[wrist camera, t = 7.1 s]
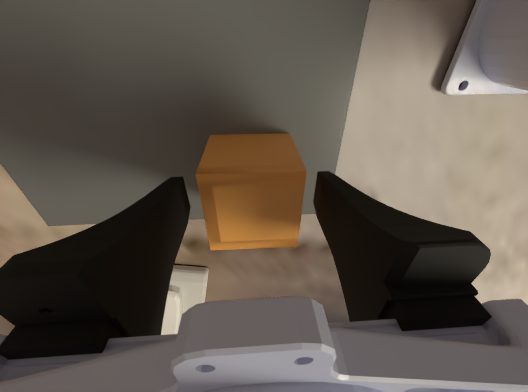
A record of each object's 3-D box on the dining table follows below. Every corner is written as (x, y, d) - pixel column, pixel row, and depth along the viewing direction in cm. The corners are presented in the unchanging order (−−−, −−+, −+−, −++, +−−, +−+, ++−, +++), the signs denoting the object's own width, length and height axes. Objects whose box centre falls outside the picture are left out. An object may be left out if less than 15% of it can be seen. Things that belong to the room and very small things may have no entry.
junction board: (386, -136, 8) (400, -154, 8) (323, 205, 18) (326, 213, 17) (-204, -152, 7) (-259, -175, 7) (58, 216, 17) (48, 226, 16)
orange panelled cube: (290, 133, 13) (306, 171, 9) (285, 197, 16) (297, 246, 12) (210, 134, 13) (195, 174, 9) (219, 199, 16) (210, 250, 12)
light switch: (93, 355, 24) (52, 296, 17) (111, 315, 27) (84, 250, 20) (196, 356, 26) (203, 304, 18) (202, 319, 29) (209, 260, 22)
